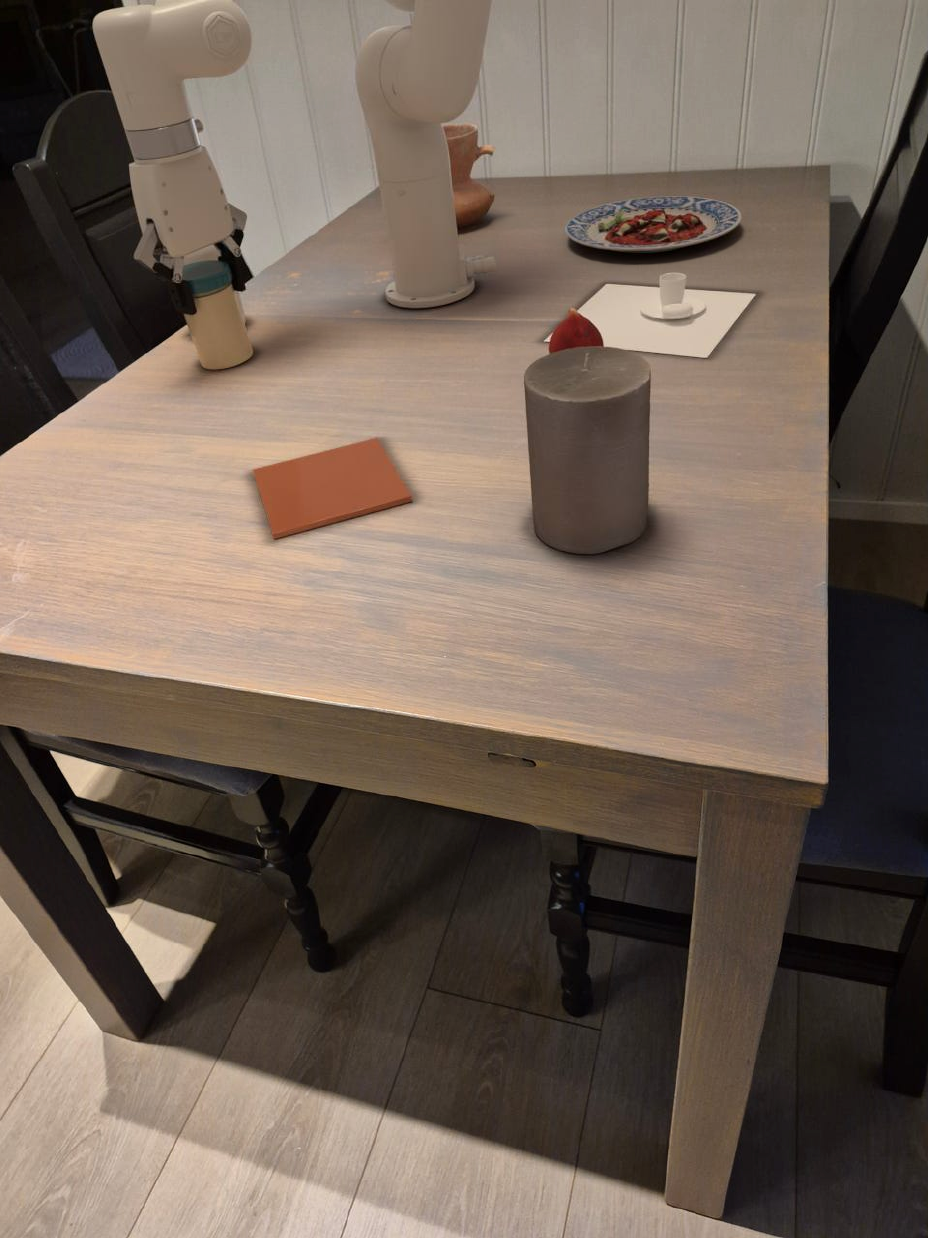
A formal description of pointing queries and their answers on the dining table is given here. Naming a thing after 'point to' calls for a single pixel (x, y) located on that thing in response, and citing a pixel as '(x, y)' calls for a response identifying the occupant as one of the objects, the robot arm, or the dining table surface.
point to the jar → (219, 329)
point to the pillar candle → (588, 447)
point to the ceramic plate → (653, 223)
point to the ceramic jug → (467, 173)
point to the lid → (207, 275)
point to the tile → (329, 487)
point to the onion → (575, 333)
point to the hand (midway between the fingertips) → (212, 300)
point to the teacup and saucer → (663, 316)
